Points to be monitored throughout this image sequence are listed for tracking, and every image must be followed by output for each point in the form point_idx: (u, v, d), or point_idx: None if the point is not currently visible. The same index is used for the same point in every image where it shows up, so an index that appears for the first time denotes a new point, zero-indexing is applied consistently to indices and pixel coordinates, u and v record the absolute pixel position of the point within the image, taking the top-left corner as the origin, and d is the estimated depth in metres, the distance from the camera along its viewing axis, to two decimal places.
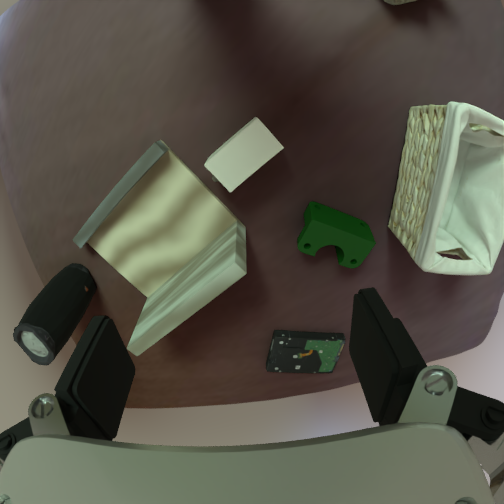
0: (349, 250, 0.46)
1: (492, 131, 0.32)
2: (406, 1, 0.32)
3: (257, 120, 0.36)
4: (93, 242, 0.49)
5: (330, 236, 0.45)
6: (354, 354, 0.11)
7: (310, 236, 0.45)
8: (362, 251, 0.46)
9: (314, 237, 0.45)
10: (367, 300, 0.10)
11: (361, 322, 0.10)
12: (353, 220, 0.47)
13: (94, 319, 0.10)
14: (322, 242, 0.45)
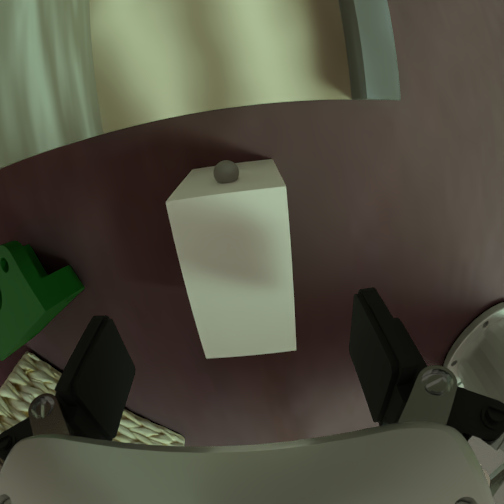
0: None
1: None
2: None
3: (292, 347, 0.16)
4: None
5: (14, 314, 0.17)
6: (354, 354, 0.11)
7: (18, 284, 0.16)
8: None
9: (16, 289, 0.17)
10: (367, 300, 0.10)
11: (361, 322, 0.10)
12: (40, 329, 0.22)
13: (94, 319, 0.10)
14: (7, 294, 0.17)
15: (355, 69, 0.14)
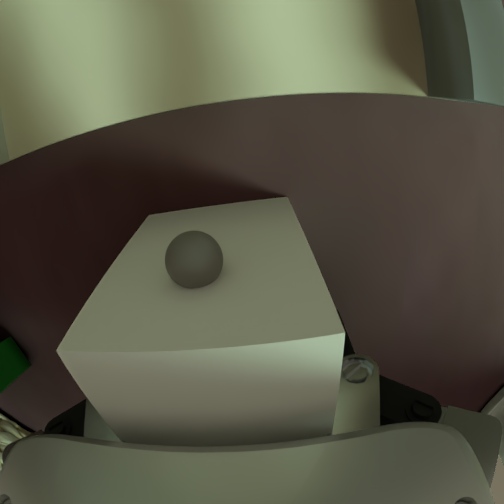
0: None
1: None
2: None
3: None
4: None
5: None
6: None
7: None
8: None
9: None
10: None
11: None
12: None
13: None
14: None
15: (442, 44, 0.06)
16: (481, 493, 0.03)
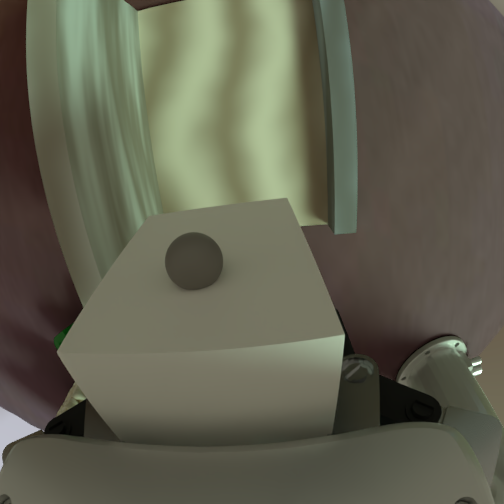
0: None
1: None
2: None
3: None
4: None
5: None
6: None
7: None
8: None
9: None
10: None
11: None
12: None
13: None
14: None
15: (330, 210, 0.27)
16: (481, 493, 0.03)
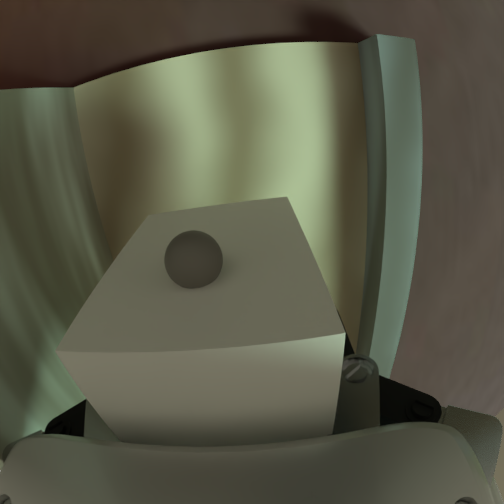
0: None
1: None
2: None
3: None
4: (341, 59, 0.13)
5: None
6: None
7: None
8: None
9: None
10: None
11: None
12: None
13: None
14: None
15: None
16: (481, 493, 0.03)
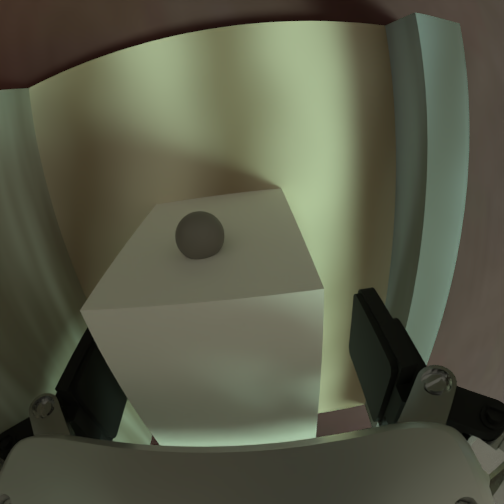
0: None
1: None
2: None
3: None
4: (365, 44, 0.09)
5: None
6: (354, 354, 0.11)
7: None
8: None
9: None
10: (366, 300, 0.10)
11: (360, 322, 0.10)
12: None
13: None
14: None
15: None
16: (481, 493, 0.03)
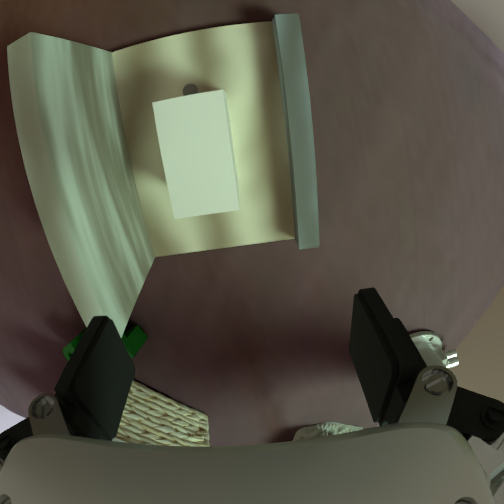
0: None
1: None
2: (295, 438, 0.54)
3: (236, 207, 0.23)
4: (261, 31, 0.22)
5: None
6: (354, 354, 0.11)
7: None
8: None
9: None
10: (367, 300, 0.10)
11: (361, 322, 0.10)
12: None
13: (94, 319, 0.10)
14: None
15: (295, 227, 0.30)
16: (481, 493, 0.03)
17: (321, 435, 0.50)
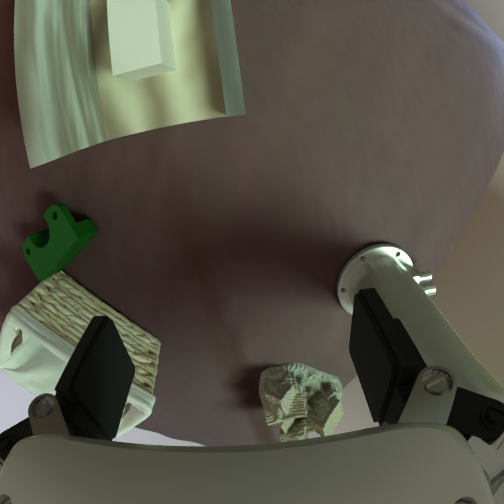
0: (38, 253, 0.35)
1: None
2: (260, 384, 0.53)
3: (159, 61, 0.23)
4: None
5: (56, 245, 0.34)
6: (354, 354, 0.11)
7: (62, 225, 0.33)
8: (35, 266, 0.36)
9: (60, 228, 0.33)
10: (367, 300, 0.10)
11: (361, 322, 0.10)
12: (67, 262, 0.39)
13: (94, 319, 0.10)
14: (53, 233, 0.34)
15: None
16: (481, 493, 0.03)
17: (287, 376, 0.49)
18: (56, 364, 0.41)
